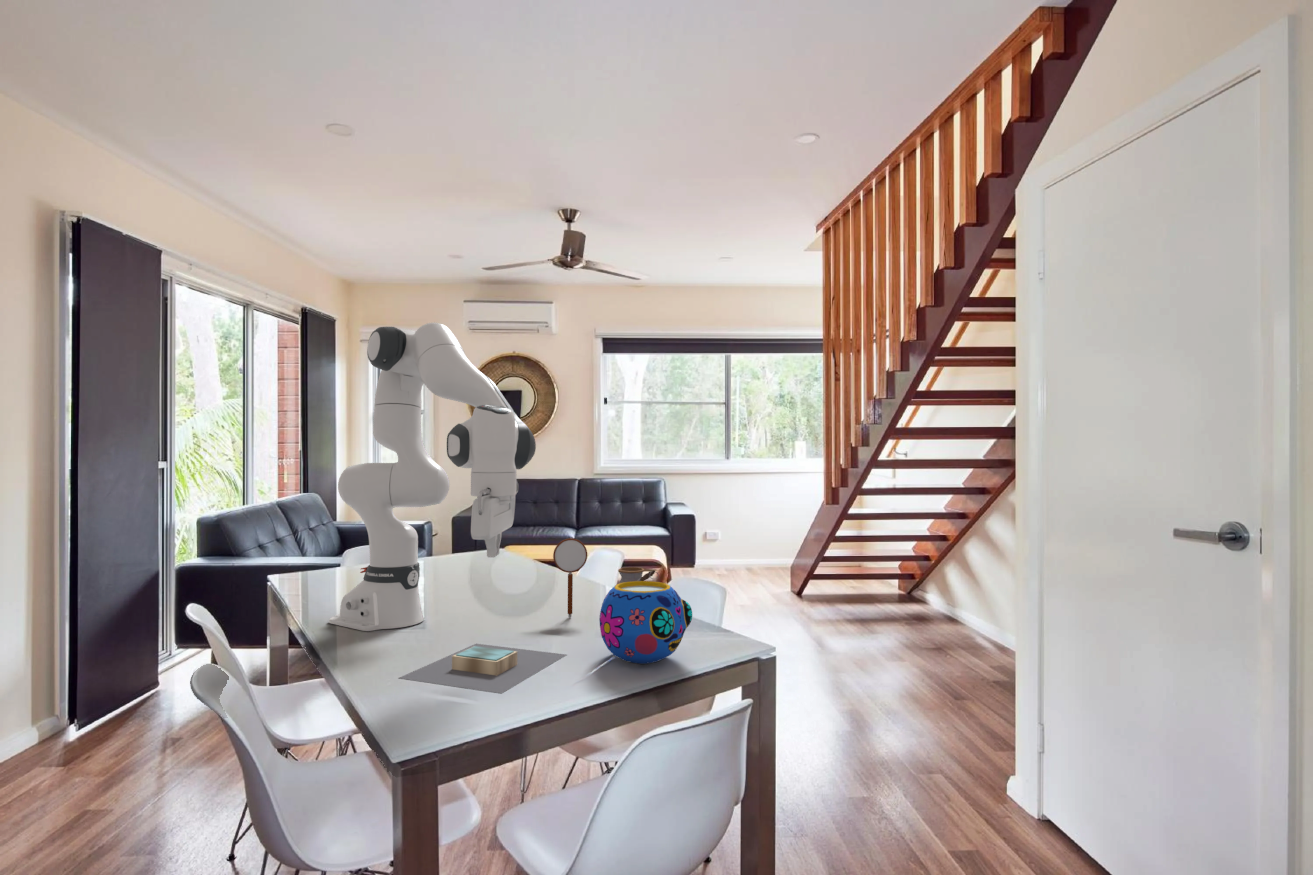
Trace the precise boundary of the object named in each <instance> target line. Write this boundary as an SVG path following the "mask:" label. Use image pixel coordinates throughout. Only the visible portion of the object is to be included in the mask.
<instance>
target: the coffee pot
mask: <svg viewBox="0 0 1313 875" xmlns="http://www.w3.org/2000/svg"><path fill="white" fill-rule="evenodd" d="M617 571H618V573H619V575H620V577H621V578H620V580H619V581H618V582H619V583H624V582H632V581H647V580H649V579H652V580H654V577H653V575H655V573H656V574H657V577H655V580H657V579H658V578H659V577H660V576H659V572H657V571H656V570H649V571H648V572H647V573H645V574H644V575H643V573H644V572H645V568H642V567H638V566H635V567H634V566H628V567H627V566H626V567H621V568H618V570H617ZM652 577H653V578H652ZM619 583H618V584H619Z"/></svg>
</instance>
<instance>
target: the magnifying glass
mask: <svg viewBox="0 0 1313 875" xmlns="http://www.w3.org/2000/svg"><path fill="white" fill-rule="evenodd" d="M552 554H553V555H552V557H553V562H554V565H555V566H556V568H558V569H559V570H560V571H561V572H565V573H568V574H567V614H568V615H567V616H568V618H571V617H572V614H573V588H574V587H573V584H574V583H573V579H574V578H573V577H574V576H573V573H576V572H579V571H580V570H581V569H582V568H583V567H584V566H585V565H586V563H587V559H588V550H587V547H586V545H585V544H584V543H583V542H582V541H581V540H580V539H576V538H573V537H571V538H566V539H563V540H561V541H559V542H558V543H557V544H556V546H555V548H554V549H553V553H552Z"/></svg>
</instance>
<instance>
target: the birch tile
mask: <svg viewBox="0 0 1313 875" xmlns="http://www.w3.org/2000/svg"><path fill="white" fill-rule="evenodd" d="M516 665H517V652H516V651H510V650H502V649H493V648H485V647H477V646H474V647H471V648H469V649H467V650H465V651H462V652H460V653H458V654H456V655H453V656H452V669H454V670H461V671H468V672H475V673H482V674H490V675H499V674H501V673H503V672H504V671H506V670H508V669H510V668H512V667H514V666H516Z"/></svg>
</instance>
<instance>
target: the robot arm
mask: <svg viewBox="0 0 1313 875" xmlns="http://www.w3.org/2000/svg"><path fill="white" fill-rule="evenodd" d="M366 354H367V359H368V361H369V362H370V364H371V366H373V367H375V368H377V369H379V370H381V371H380V373H379V377H378V380H377V384H376V389H375V397H374V407H373V408H374V409H373V428H372V429H373V430H372V434H373V438H374V440H375V441H376V442H377V443H378V444H379V445H380V446H382V447H384V448H386V449H388V450H390V451H393V452H394V453H396V456H397V462H365V463H360V464H353V465H350V466H349V465H348V466H347V467H346V468H345V469H344V470H343V471H342V472H341V474H340V477H339V479H338V482H337V489H338V495H339V496H340V498H341V500H342V501H343V502H344V503H345V505H347V506H349V507H350V508H352V510H354V511H355V512H356V513H357V514H358V516H360V518H361V520H362V521H363V523H364V526H365V528H366V531H367V535H368V546H369V547H368V548H369V564H368V565H367V566H366V567H361V568H360V572H359V573H360V574H363V573H364V575H363V578H362V581H361V582H359V583H358V584H357V585H356V586H355V587H353V588H352V589H350V591H348V592H347V593H346V594H345V595H343V597H342V599H341V602H340V608H339V613H338V614H336V615H333V616H332V617H330V618H329V619H328V623H329V624H331V625H336V626H341V627H344V628H345V627H346V628H349V629H354V630H358V631H363V632H369V631H370V632H372V631H378V630H389V629H390V630H391V629H399V628H405V627H409V626H410V627H411V626H413V625H417V624H420V623H422V622H424V620H425V617H424V613H423V610H422V604H421V599H420V593H419V592H420V591H419V580H420V569H421V568H420V562H419V557H418V555H419V549H418V548H419V535H418V532H417V530H416V529H415V528H414V527H413V526H412V525H410V524H409V523H407V522H405V521H402V520H401V519H399V518H397V517H396V515H395V513H394V508H426V507H431V506H435V505H439V504H442V502H444V500H445V499H447V498H446V497H447V496H448V494H449V491H450V485H451V484H450V478H449V475H448V473H447V471H446V470H445V469H444V468H443V467H442V466H441V465H440V464H438V463H437V462H436V461H435V460H434V459H433V458H432V457H431V455H430V454H429V453H428V451H427V449H426V447H425V445H424V441H423V436H422V435H423V433H422V389H423V385H425V387H426V388H427V389H428V391H430V392H431V393H432V394H433V395H435V396H438V397H439V398H442V399H446V400H450V401H455V402H457V403H463V404H467V405H469V406H471V407H474V408H473V412H472V416H470V417H469V418H468V419H467V420H465V421H464V422H462V423H457V424H455V425H454V426H453V427H452V429H451V430H450V431H449V432H448V434H447V435H446V436H447V437H446V456H447V457H448V459H449V460H450V462H452V463H453V464H454V465H455V466H456V467H458V468H462V469H470V496H472V497H477V498H475V499H474V500H473V502H472V505H471V506H472V507H471V517H470V518H471V520H470V536H471V539H472V540H477V541H478V540H480V541H481V540H483V541H484V544H485V546H486V557H487V558H496V557H497V556H499V554H500V545H501V542H502V541H501V540H502V537H503V536H502V533H503V532H505V531H507V530H508V529H510V528H511V527H512V526H513V524H514V521H515V511H516V510H515V509H516V495H517V493H518V492H519V483H518V480H517V470H522V469H523V468H524V467H525V466H527V464H528V465H529V462H531V460H532V459H533V457H534V456H535V453H536V448H537V444H536V439H535V436H534V434H533V431H532V430H531V429H530V428H529V427H528V425H527V424H526V423H525V422H524V421H522V420H521V419H520V418H519V417H518V415H517V413H516V412H515V411H514V409H513V407H512V406H511V405H510V403H509V402H508V400H507V399H506V398H505V396H504V395H503V393H502V392H501V390H500V389H499V388H498V386H497V385H496V383H495V382H494V381H493V380H492V379H491V378H490V377H489V376H487V375H486V374H485V373H483V372H482V371H481V370H479V369H478V368H477V366H475V365H474V364H473V363H472V361H471V360H470V359H469V358H468V357H467V354H466V353H465V351H464V348H463V346H462V345H461V343H460V341H459V340H458V338H457V336H456V335H455V334H454V333H453V332H452V330H451V329H450V327H448V326H446V325H445V324H442V323H439V322H428V323H425V324H423V325H421V326H420V327H418V328H417V330H412V329H407V328H406V329H405V328H398V327H395V326H379V327H377V328H376V329H375V330H374V331H372V333H371V334H370V336H369V339H368V342H367V348H366ZM361 570H362V571H361Z"/></svg>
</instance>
